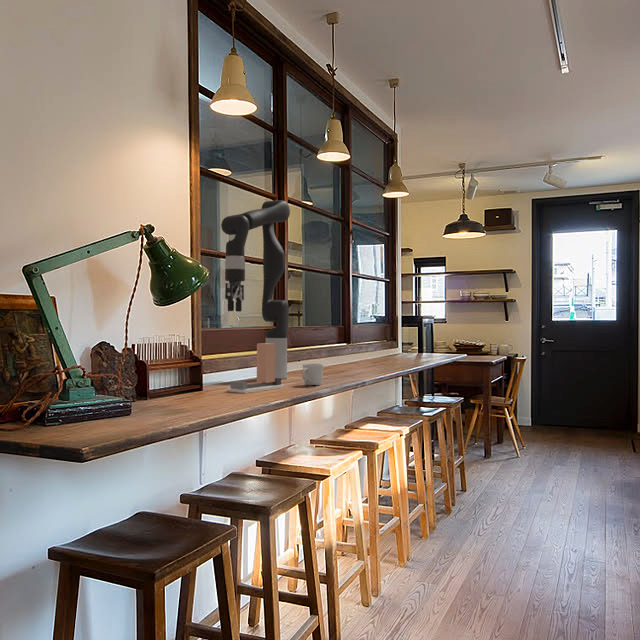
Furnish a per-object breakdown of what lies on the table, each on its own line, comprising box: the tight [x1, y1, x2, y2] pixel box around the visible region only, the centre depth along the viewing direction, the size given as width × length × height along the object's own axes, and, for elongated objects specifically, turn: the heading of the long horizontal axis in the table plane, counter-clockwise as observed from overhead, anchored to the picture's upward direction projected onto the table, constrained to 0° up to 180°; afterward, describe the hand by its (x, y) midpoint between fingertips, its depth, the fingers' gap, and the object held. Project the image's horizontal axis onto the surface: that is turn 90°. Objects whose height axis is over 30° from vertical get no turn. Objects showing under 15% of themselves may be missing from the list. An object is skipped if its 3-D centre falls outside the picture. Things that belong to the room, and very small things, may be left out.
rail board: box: [226, 378, 286, 394], centre depth 216 cm, size 21×9×4 cm, turn 143°
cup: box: [301, 363, 324, 386], centre depth 230 cm, size 11×8×8 cm
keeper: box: [256, 342, 275, 383], centre depth 220 cm, size 5×4×14 cm
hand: (234, 311), depth 228 cm, fingers open, 8 cm apart
